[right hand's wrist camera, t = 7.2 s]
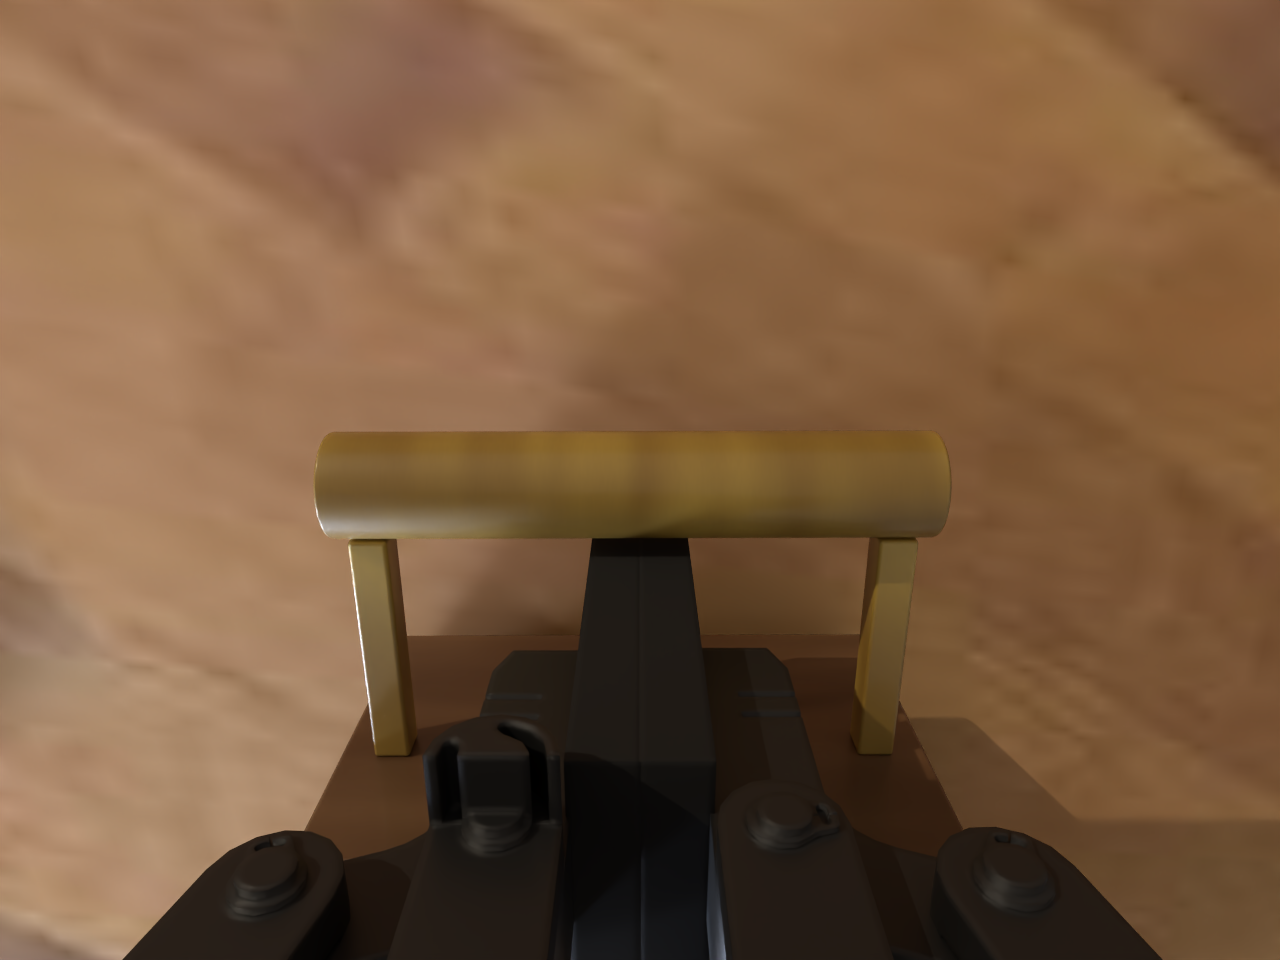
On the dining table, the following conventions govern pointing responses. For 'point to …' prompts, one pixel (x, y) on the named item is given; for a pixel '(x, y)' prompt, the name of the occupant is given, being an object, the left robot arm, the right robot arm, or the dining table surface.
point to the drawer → (633, 508)
